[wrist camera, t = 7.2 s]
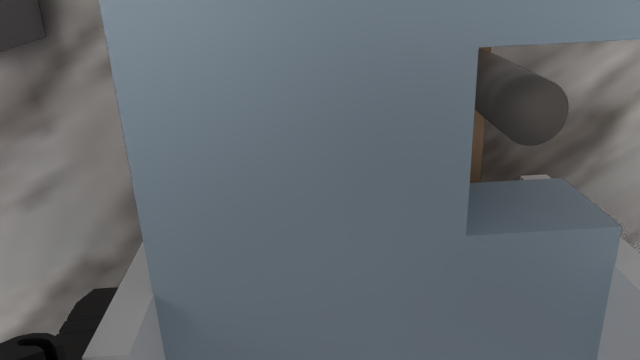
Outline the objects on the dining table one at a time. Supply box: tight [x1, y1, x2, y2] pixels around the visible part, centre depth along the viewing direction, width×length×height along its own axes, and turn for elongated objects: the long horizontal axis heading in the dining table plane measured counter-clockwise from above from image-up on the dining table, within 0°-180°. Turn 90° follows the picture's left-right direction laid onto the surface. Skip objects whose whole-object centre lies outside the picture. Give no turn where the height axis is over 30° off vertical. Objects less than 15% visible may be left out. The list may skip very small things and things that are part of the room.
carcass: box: [470, 47, 568, 183], centre depth 17 cm, size 14×8×9 cm, turn 2°
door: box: [99, 0, 640, 360], centre depth 12 cm, size 14×9×2 cm, turn 2°
